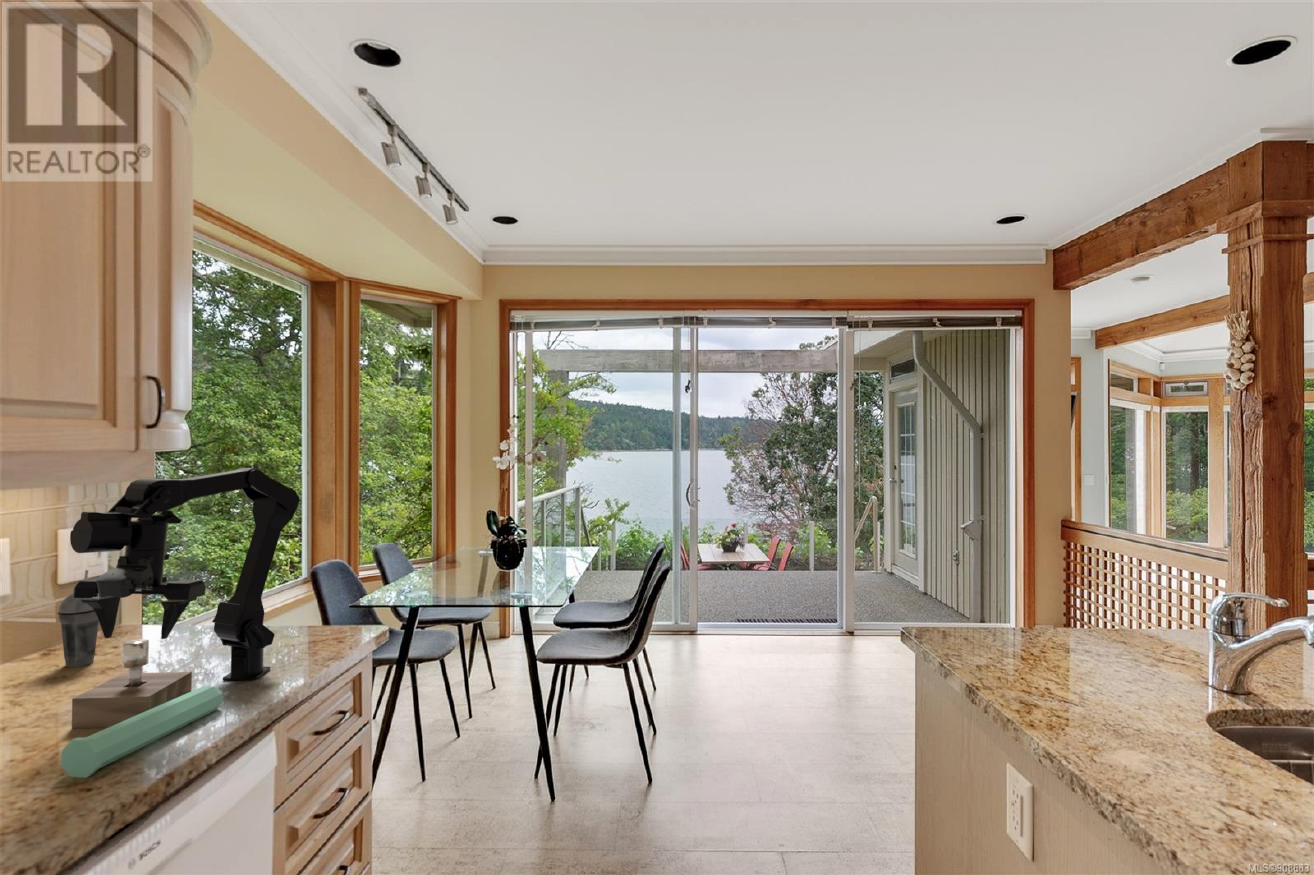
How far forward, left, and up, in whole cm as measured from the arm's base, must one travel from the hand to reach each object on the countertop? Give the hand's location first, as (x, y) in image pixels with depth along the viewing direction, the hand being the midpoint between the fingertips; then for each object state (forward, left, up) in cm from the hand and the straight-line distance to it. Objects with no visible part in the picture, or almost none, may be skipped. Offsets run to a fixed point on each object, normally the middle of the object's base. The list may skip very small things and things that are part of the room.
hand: (136, 638), depth 116 cm
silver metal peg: (-1, 0, -9) cm, 9 cm away
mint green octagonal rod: (+10, +10, -14) cm, 20 cm away
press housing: (-1, 0, -13) cm, 13 cm away
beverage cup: (-29, -29, -14) cm, 43 cm away
